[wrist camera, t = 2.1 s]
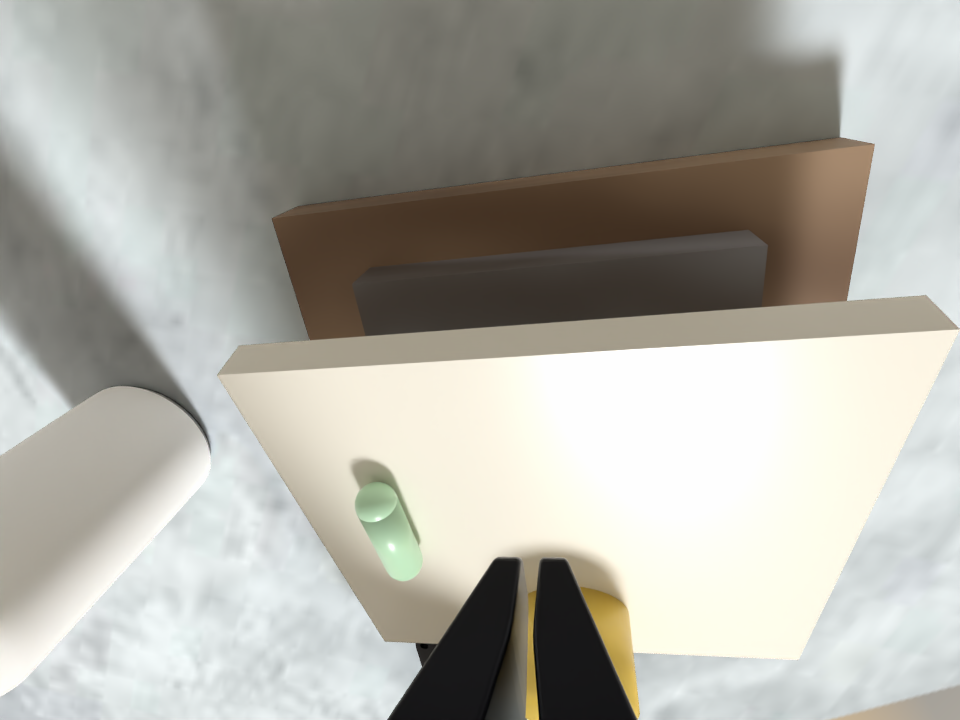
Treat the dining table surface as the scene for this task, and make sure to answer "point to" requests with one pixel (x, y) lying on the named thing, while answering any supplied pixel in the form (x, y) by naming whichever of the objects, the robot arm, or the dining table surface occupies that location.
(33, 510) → the can
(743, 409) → the plate
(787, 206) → the walnut base
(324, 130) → the dining table surface
